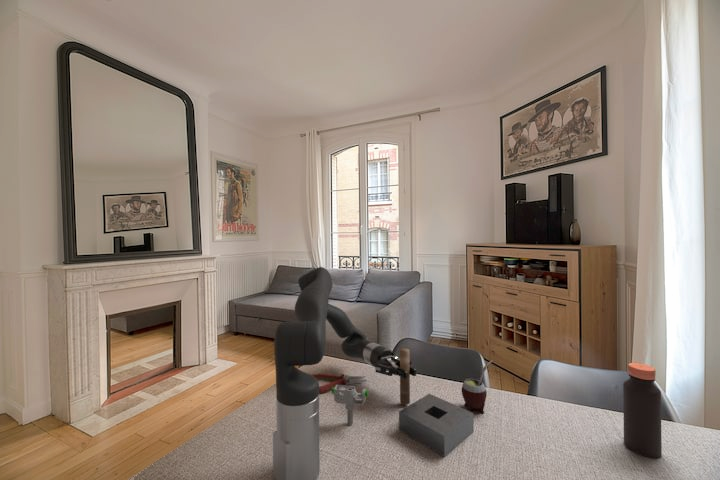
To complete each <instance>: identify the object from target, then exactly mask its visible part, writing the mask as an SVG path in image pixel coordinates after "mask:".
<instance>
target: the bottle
mask: <svg viewBox="0 0 720 480" xmlns="http://www.w3.org/2000/svg"><path fill="white" fill-rule="evenodd" d="M627 374H628V376H629V378H628V379H626V380H625V381H624V382H623V383H622V384H623V388H622V389H623V391H622V392H623V393H622V394H623V395H622V396H623V397H622V398H623V399H622V400H623V444H624V445H625V447H627V448H628V449H629V450H631V451H632V452H634V453H636V454H639V455H640V456H644V457H647V458H652V457H655V458H656V457H657V458H660V457H662V453H663V450H662V448H663V447H662V444H663V443H662V392H661V390H660V389H659V387H658V386H656V385H655V384H654V382H655V381H656V369H655V368H654V367H652V366H651V365H650V366H649V365H648V364H644V363H637V362H630V363H628V364H627ZM655 458H654V459H655Z"/></svg>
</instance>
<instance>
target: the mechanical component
mask: <svg viewBox="0 0 720 480" xmlns="http://www.w3.org/2000/svg"><path fill="white" fill-rule="evenodd" d="M331 394H333V396H334V397H333V398H334V402H335V403H337V404H343V405H345V410H347V411H346V413H347V419H346V420H347V426H349V427H352V425H353V423H354V409H355V408H356V406H363V405H364V404H365V401H366V399H367V398H369V390H368V389H366V388H362V391H361V392H357V389H356V386H353V385H347V386H345V385H336V386H335V387H332V391H331Z"/></svg>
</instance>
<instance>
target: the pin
mask: <svg viewBox="0 0 720 480" xmlns="http://www.w3.org/2000/svg"><path fill="white" fill-rule="evenodd" d="M410 353H411V352H410V349H408V348H401V349H399V358H400V368H401V369H404V370H405V371H407V373H408V378H407V379H404V378H402V377H400V376H399V393H400V394H399V402H400V404H402V405H410V403H411V391H410V390H411V383H410V382H411V378H410V377H411V374H410V360H411V359H410V358H411V357H410V355H411V354H410Z"/></svg>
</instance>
